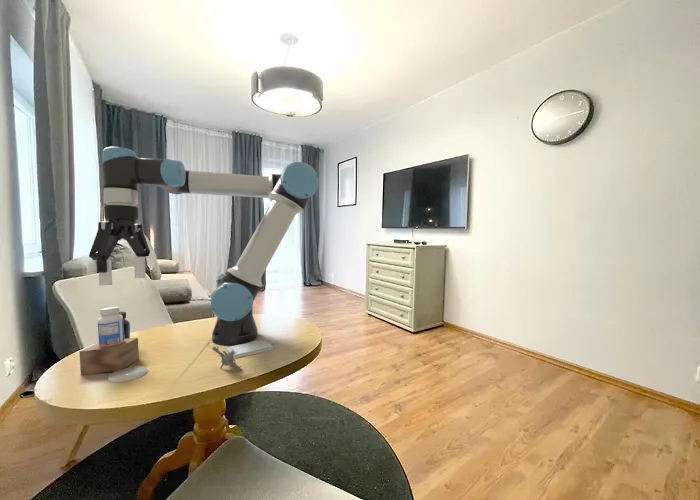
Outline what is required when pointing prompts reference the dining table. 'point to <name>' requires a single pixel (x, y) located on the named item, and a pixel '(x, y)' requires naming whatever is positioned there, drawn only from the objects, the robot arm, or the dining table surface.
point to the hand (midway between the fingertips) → (124, 281)
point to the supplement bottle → (126, 325)
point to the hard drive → (249, 348)
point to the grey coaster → (127, 374)
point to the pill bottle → (110, 327)
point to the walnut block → (108, 357)
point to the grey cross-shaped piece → (227, 358)
